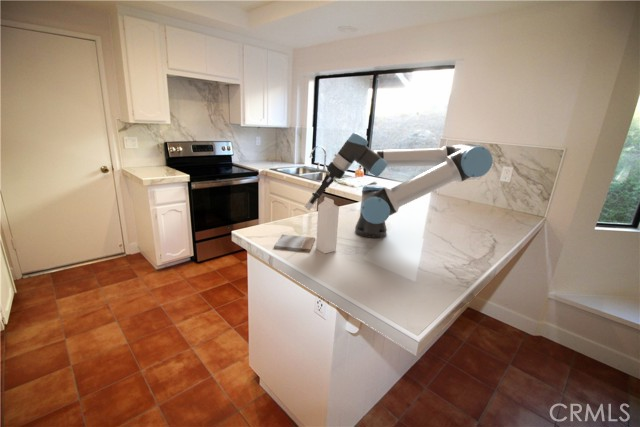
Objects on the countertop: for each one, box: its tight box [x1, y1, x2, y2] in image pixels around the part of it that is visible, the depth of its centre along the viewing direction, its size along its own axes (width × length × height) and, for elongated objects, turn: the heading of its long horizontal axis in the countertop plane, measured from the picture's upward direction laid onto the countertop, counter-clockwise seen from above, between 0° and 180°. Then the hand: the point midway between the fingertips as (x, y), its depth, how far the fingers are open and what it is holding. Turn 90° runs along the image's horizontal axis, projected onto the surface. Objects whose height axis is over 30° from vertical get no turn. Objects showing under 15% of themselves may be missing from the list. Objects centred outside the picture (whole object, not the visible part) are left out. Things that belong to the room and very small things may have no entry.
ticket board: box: [273, 234, 316, 253], centre depth 129 cm, size 15×13×1 cm
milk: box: [315, 196, 340, 254], centre depth 122 cm, size 6×6×22 cm
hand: (309, 204), depth 134 cm, fingers open, 13 cm apart
